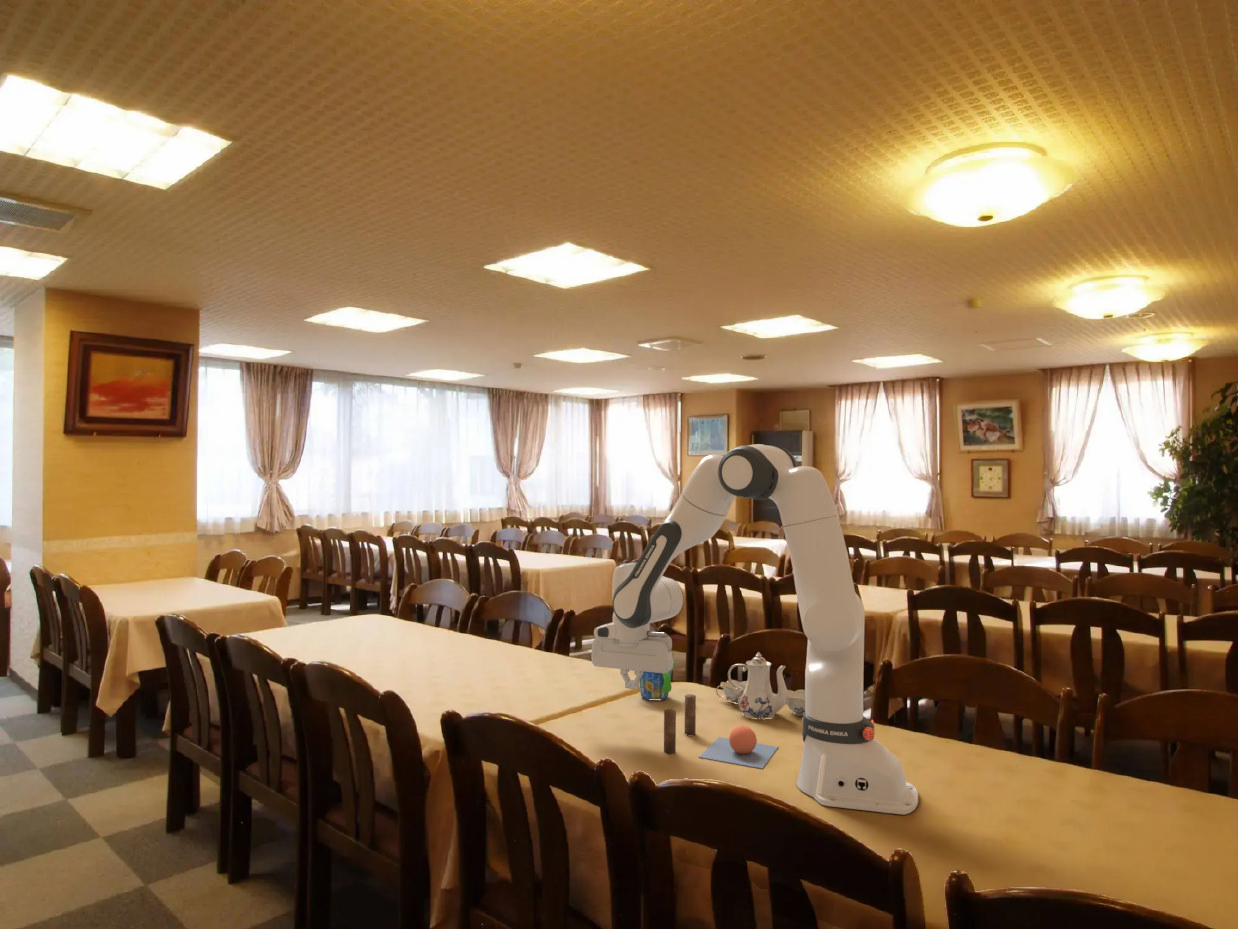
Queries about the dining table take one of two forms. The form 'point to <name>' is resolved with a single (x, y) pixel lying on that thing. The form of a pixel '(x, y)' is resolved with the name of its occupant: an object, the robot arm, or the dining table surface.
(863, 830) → the dining table surface
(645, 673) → the snack cup
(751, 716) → the chinaware
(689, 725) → the post
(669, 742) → the post
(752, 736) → the ball
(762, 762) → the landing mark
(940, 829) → the dining table surface
